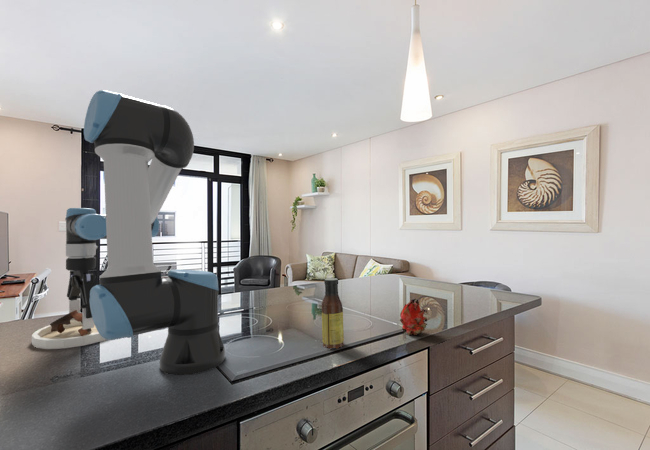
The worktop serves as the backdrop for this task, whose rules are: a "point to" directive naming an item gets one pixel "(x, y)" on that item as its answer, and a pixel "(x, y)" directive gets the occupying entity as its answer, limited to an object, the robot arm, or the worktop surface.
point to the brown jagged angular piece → (65, 320)
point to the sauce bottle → (332, 315)
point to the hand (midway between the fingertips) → (81, 324)
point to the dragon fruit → (413, 318)
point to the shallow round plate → (65, 337)
